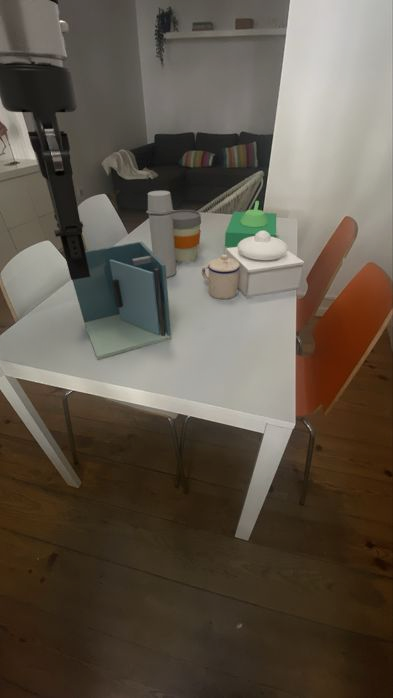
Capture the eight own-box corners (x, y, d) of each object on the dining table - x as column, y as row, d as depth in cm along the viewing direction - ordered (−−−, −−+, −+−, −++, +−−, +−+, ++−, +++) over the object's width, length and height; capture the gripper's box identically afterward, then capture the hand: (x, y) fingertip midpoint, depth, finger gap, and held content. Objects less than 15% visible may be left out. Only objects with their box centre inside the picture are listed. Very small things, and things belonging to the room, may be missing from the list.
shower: (97, 359, 72) (76, 283, 60) (84, 324, 83) (65, 254, 71) (171, 338, 78) (165, 264, 66) (150, 308, 89) (141, 241, 77)
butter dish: (271, 266, 110) (278, 218, 100) (299, 289, 96) (309, 237, 87) (224, 273, 106) (226, 224, 96) (245, 298, 93) (250, 244, 83)
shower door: (117, 321, 82) (105, 261, 72) (122, 317, 83) (111, 259, 73) (155, 337, 76) (147, 275, 66) (160, 333, 77) (153, 272, 67)
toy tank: (277, 199, 135) (277, 224, 108) (273, 228, 143) (272, 258, 116) (236, 197, 138) (226, 221, 111) (234, 226, 146) (224, 255, 119)
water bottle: (181, 275, 106) (176, 193, 90) (160, 281, 103) (152, 197, 87) (168, 265, 112) (162, 188, 97) (147, 271, 109) (138, 191, 93)
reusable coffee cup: (201, 263, 113) (201, 219, 104) (166, 263, 114) (163, 220, 104) (201, 250, 123) (201, 209, 114) (169, 250, 124) (166, 209, 114)
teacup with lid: (243, 290, 97) (246, 253, 89) (228, 303, 91) (230, 264, 84) (210, 281, 102) (210, 245, 95) (194, 292, 96) (193, 255, 89)
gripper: (78, 61, 29) (115, 290, 44) (62, 68, 38) (97, 256, 53) (-14, 56, 27) (58, 301, 41) (-8, 65, 36) (49, 263, 51)
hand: (80, 276), depth 47 cm, fingers closed
